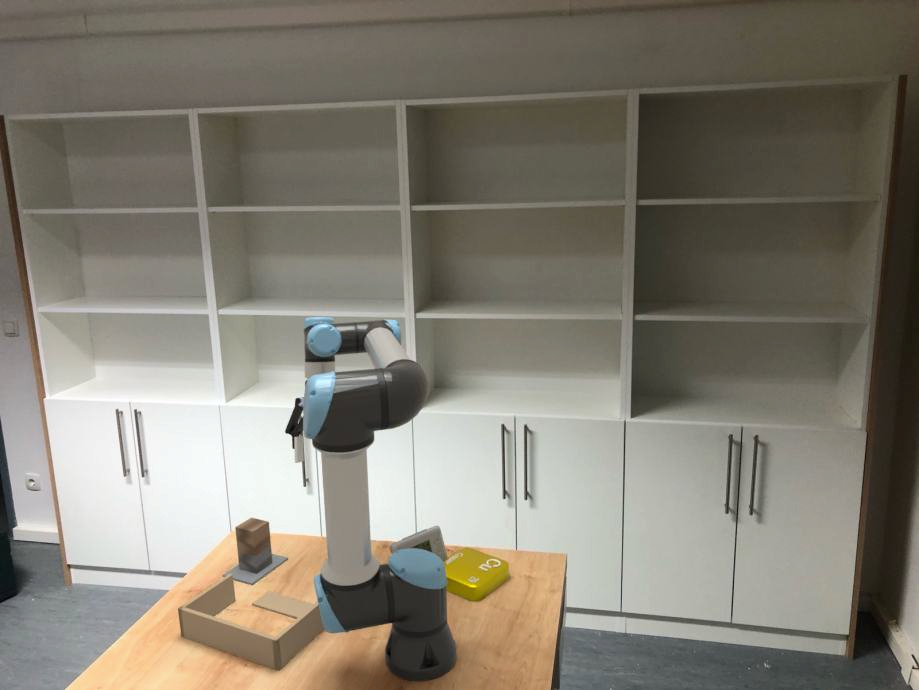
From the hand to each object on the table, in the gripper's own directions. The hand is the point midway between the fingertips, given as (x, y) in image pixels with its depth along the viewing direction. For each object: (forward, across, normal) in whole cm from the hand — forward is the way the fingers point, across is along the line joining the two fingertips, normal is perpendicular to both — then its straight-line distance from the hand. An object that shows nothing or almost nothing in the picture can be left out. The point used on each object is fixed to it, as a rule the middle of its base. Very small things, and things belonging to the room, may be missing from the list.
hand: (321, 463), depth 177 cm
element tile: (+31, -33, -17) cm, 48 cm away
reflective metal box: (+29, +22, -2) cm, 37 cm away
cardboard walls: (+34, +5, +18) cm, 39 cm away
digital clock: (+30, -20, -15) cm, 39 cm away
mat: (+29, +22, -2) cm, 37 cm away
